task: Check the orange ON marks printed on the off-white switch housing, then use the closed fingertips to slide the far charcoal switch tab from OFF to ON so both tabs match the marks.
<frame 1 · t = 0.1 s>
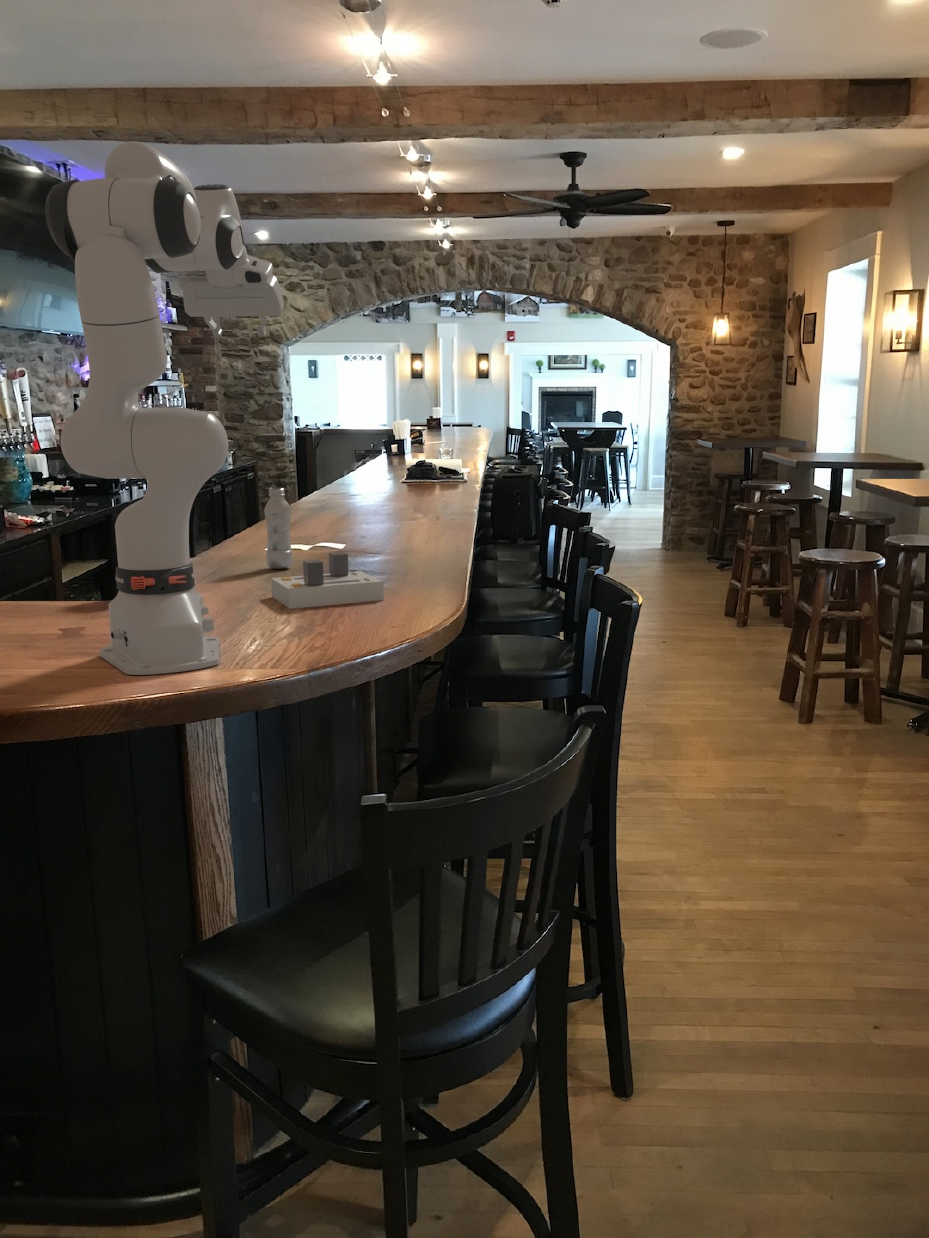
hand: (239, 335, 196), 54 cm above the table, fingers open, 8 cm apart
near tab: (313, 572, 190), point 6 cm above the table, slide at 8.0 cm
switch housing: (327, 598, 196), on the table
far tab: (338, 564, 200), point 6 cm above the table, slide at 0.0 cm
plastic bottle: (280, 569, 234), on the table
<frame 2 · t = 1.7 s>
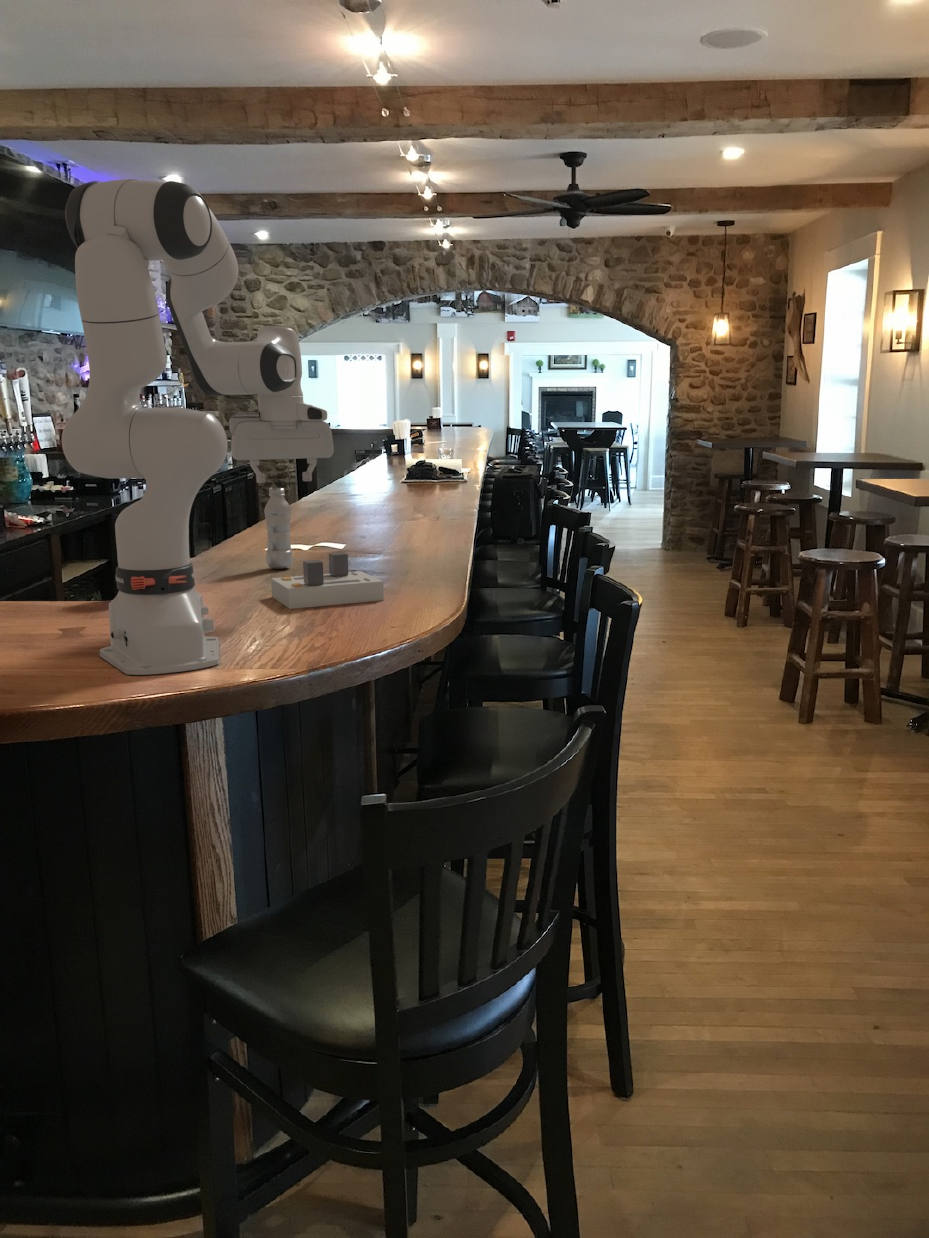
hand: (284, 482, 188), 25 cm above the table, fingers open, 8 cm apart
nothing on the table moved.
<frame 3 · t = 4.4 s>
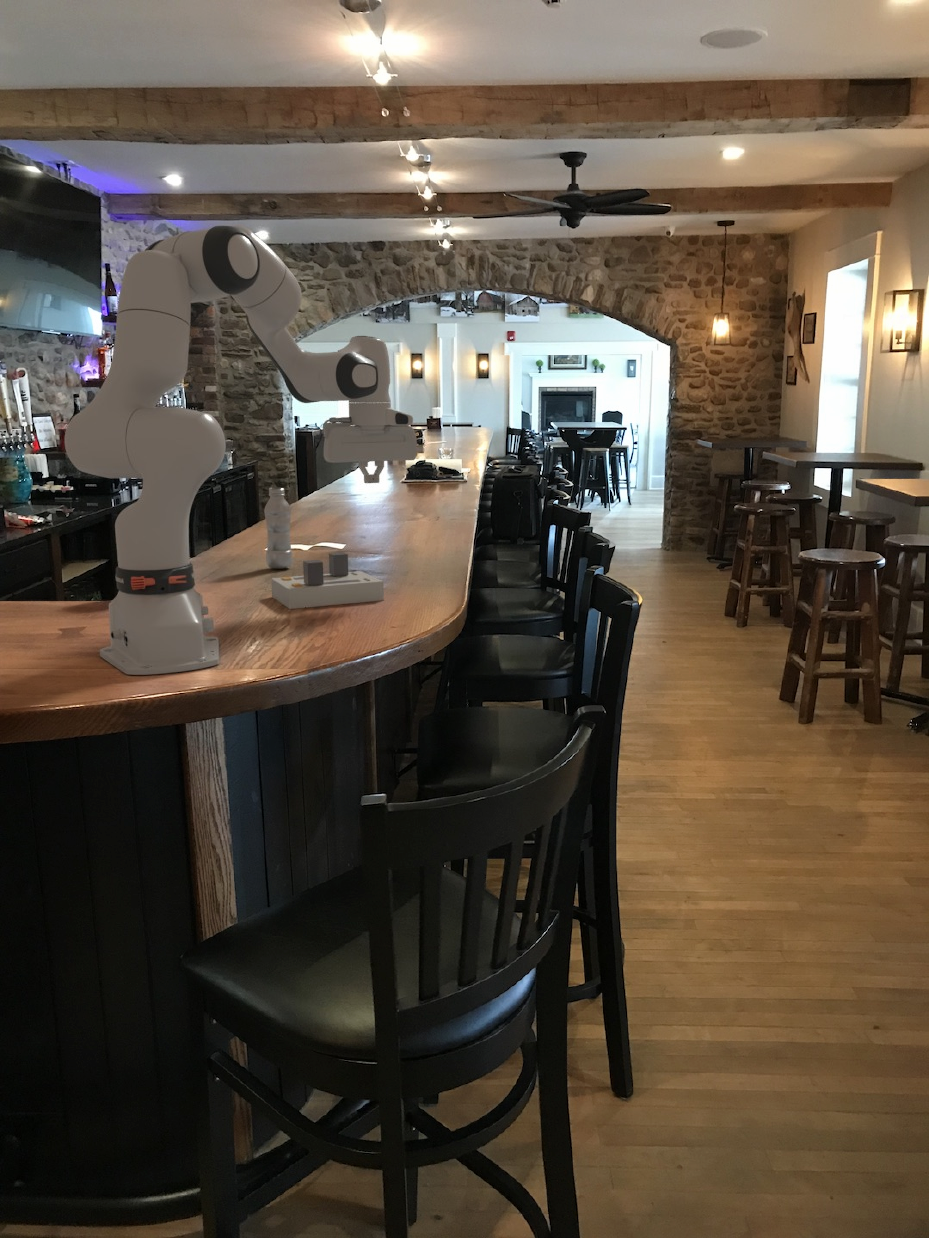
hand: (371, 483, 200), 23 cm above the table, fingers closed
nothing on the table moved.
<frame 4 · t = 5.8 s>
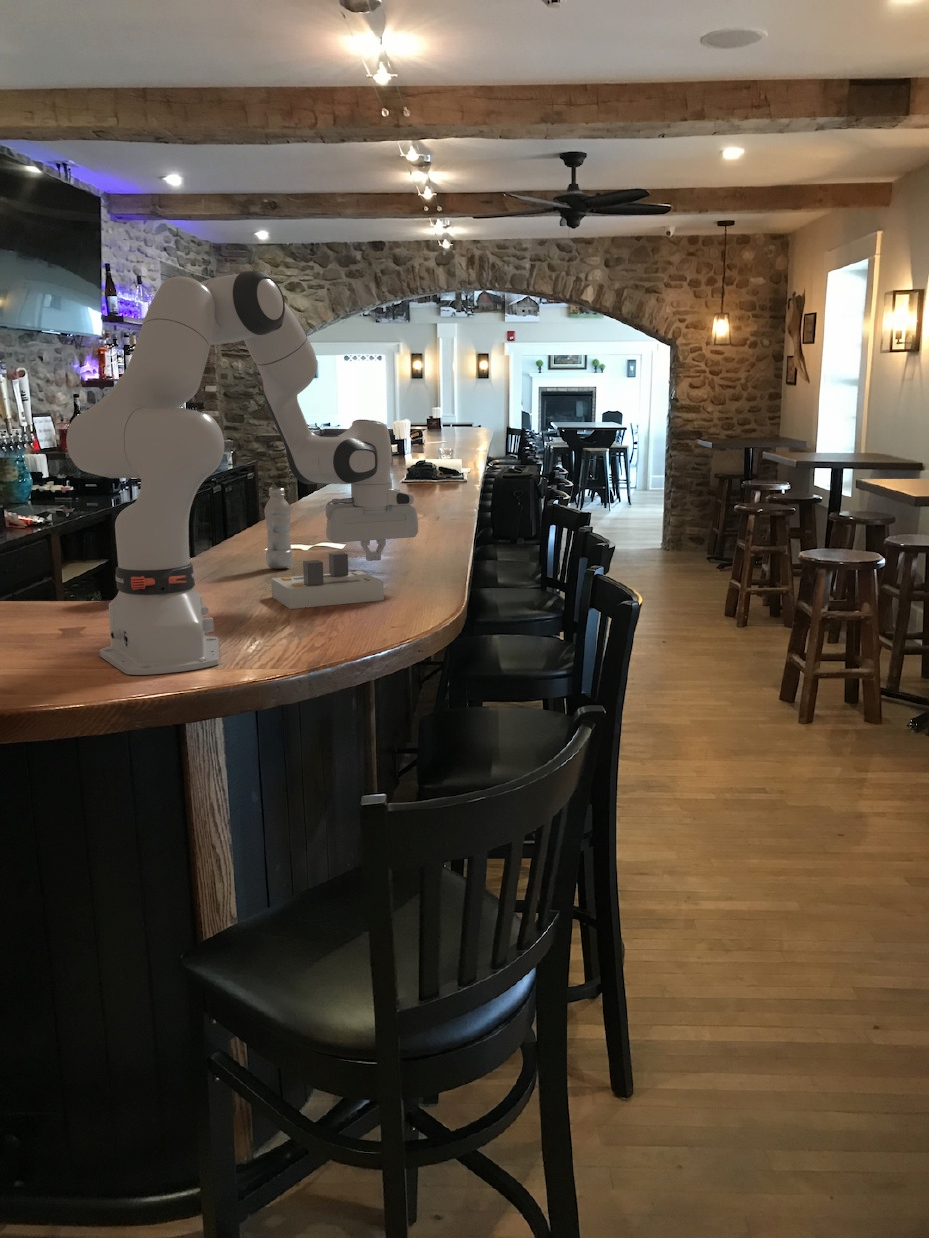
hand: (373, 560, 204), 7 cm above the table, fingers closed
nothing on the table moved.
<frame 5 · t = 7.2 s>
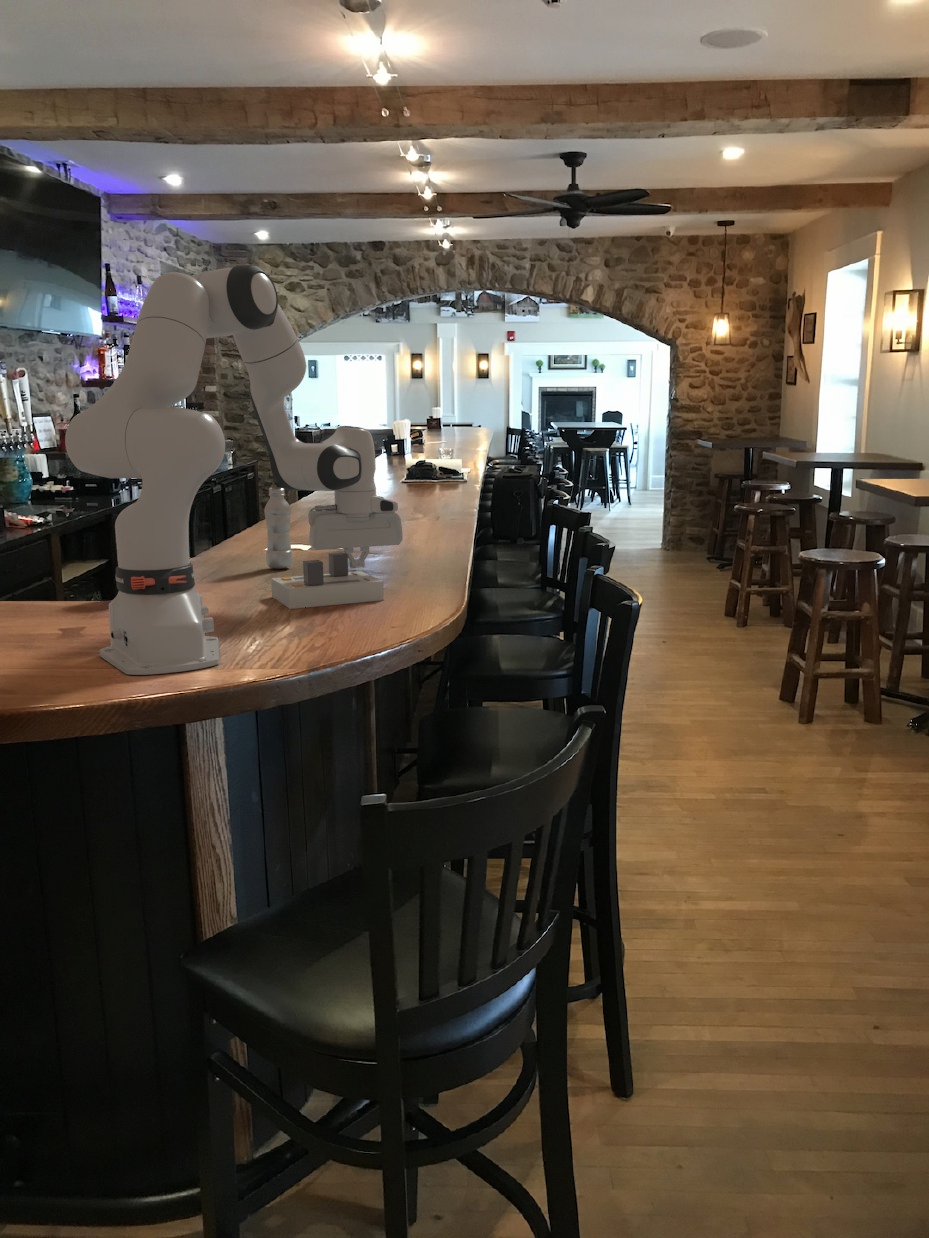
hand: (357, 567, 202), 5 cm above the table, fingers closed
far tab: (338, 564, 200), point 6 cm above the table, slide at 0.0 cm, touching gripper
everything else where it was.
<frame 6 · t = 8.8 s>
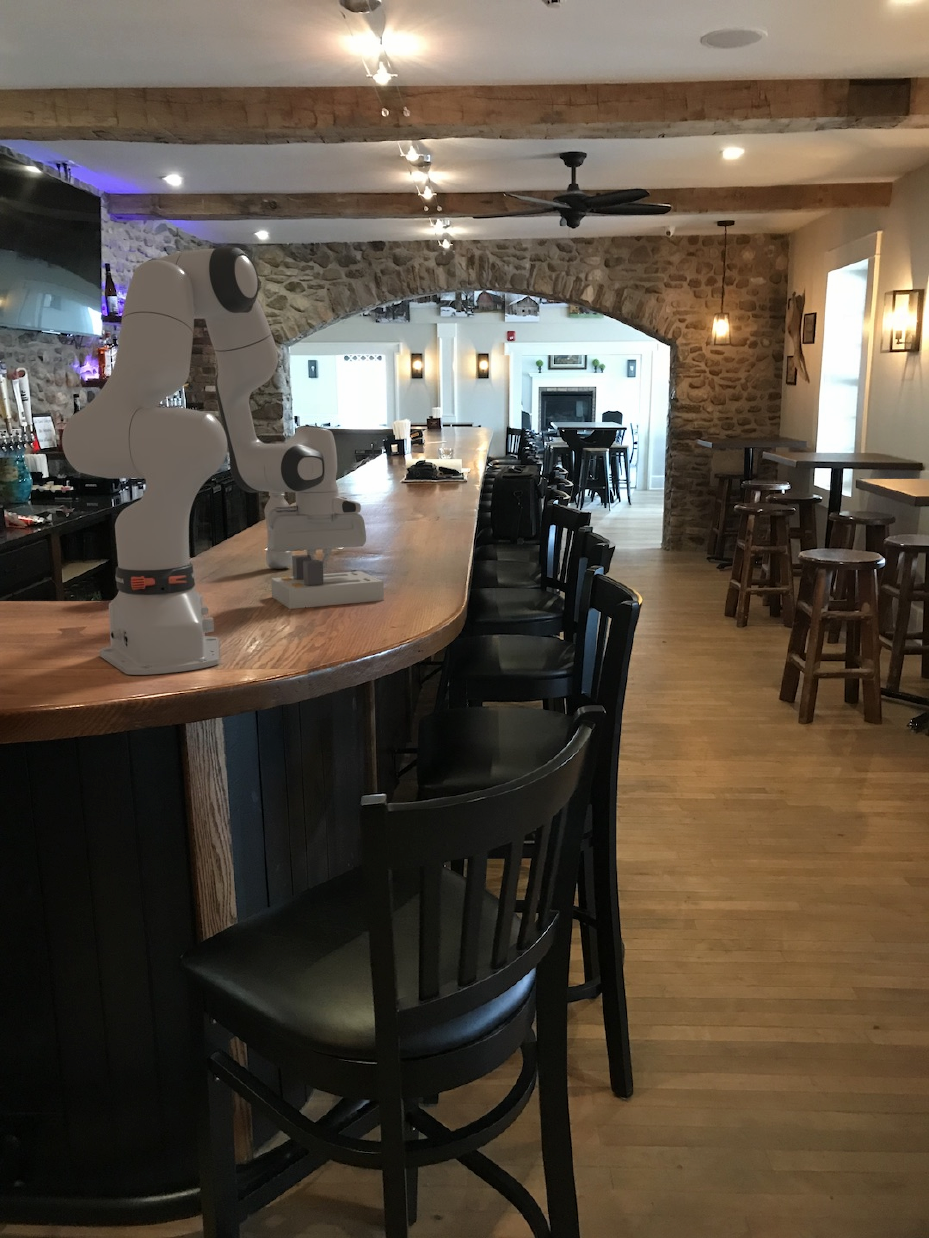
hand: (319, 570, 198), 5 cm above the table, fingers closed
far tab: (301, 566, 197), point 6 cm above the table, slide at 8.1 cm, touching gripper
everything else where it was.
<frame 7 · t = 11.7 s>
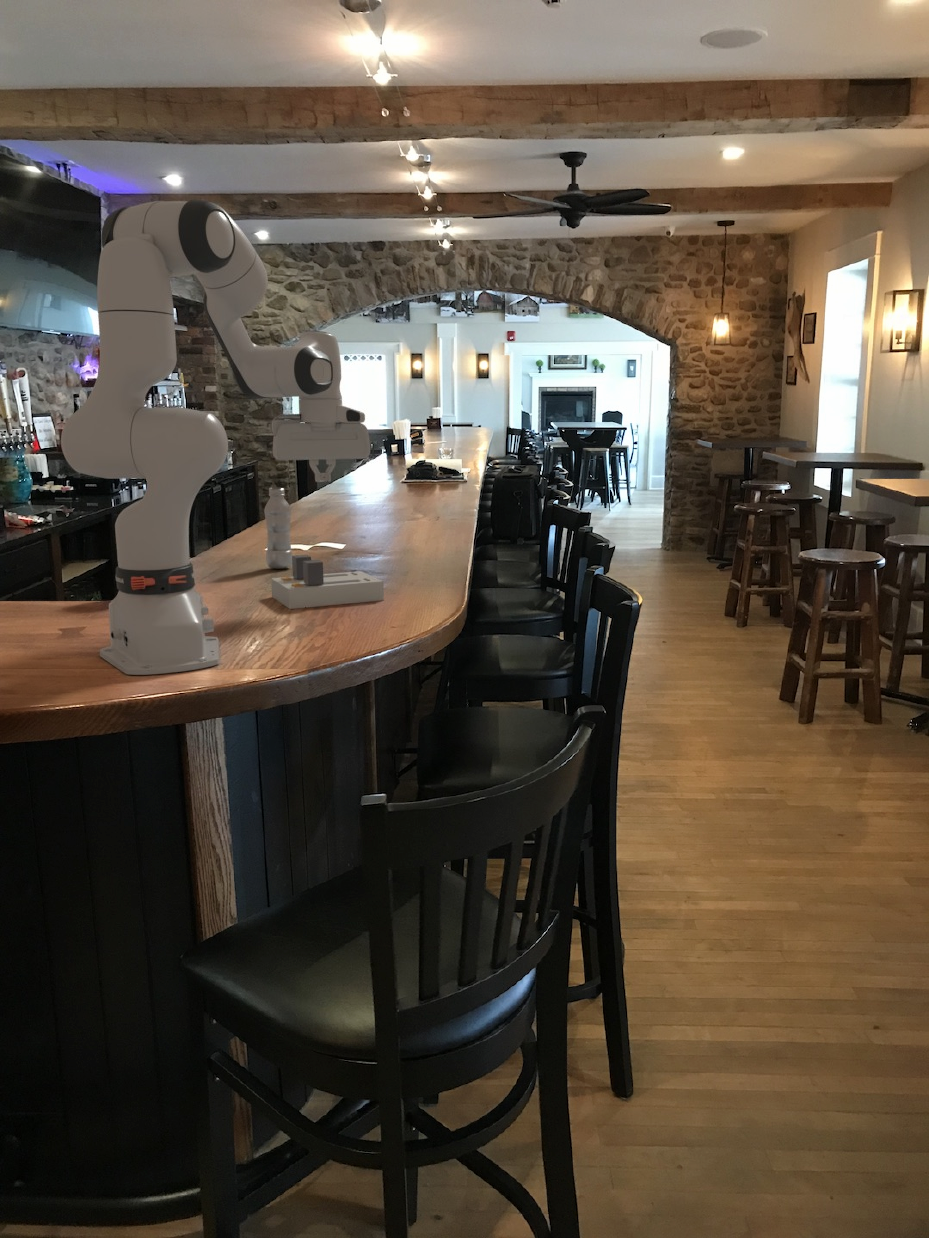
hand: (323, 481, 195), 24 cm above the table, fingers closed
far tab: (301, 566, 197), point 6 cm above the table, slide at 8.1 cm
everything else where it was.
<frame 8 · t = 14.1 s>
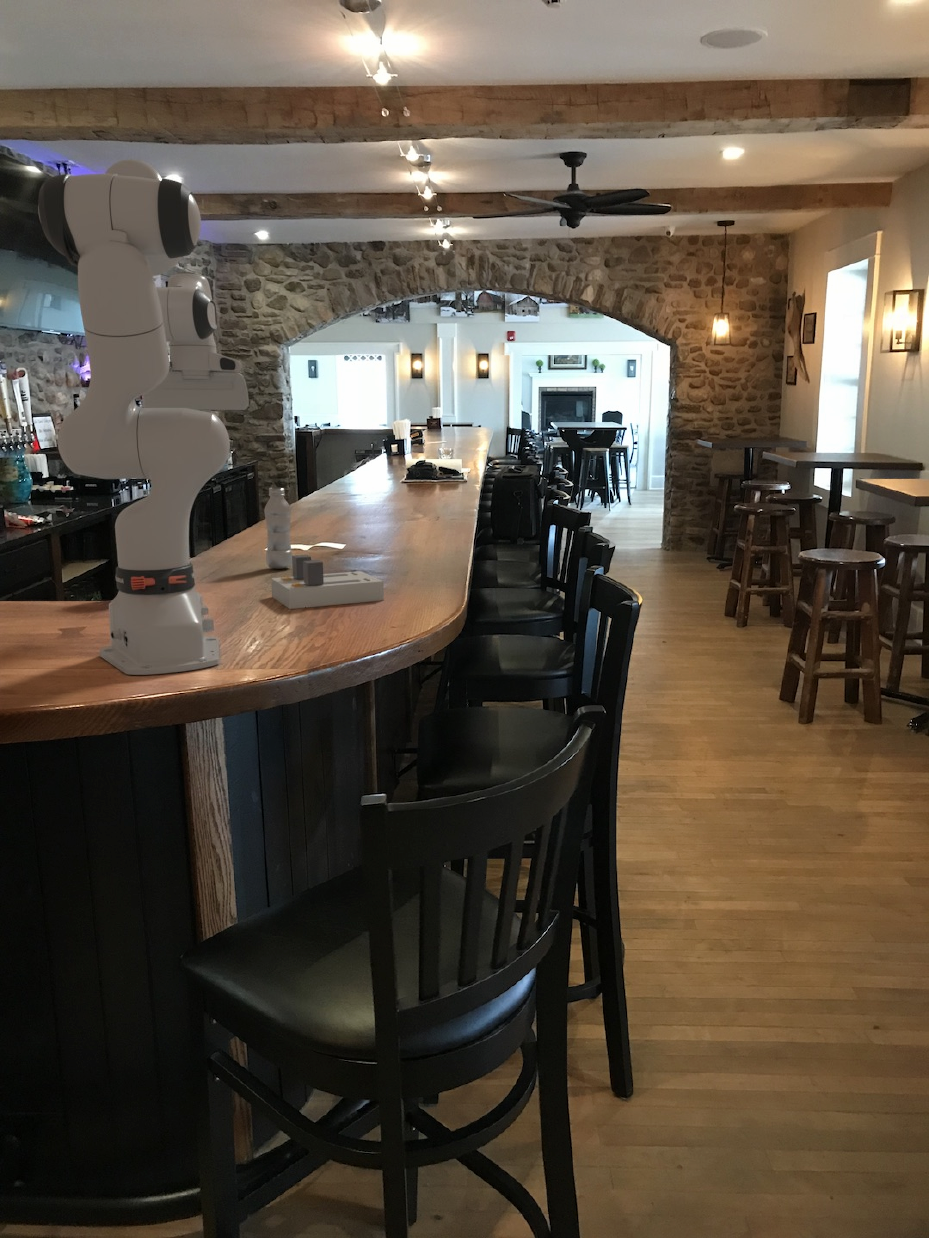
hand: (198, 434, 186), 34 cm above the table, fingers closed
nothing on the table moved.
at the end: far tab slide at 8.1 cm; near tab slide at 8.0 cm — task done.
